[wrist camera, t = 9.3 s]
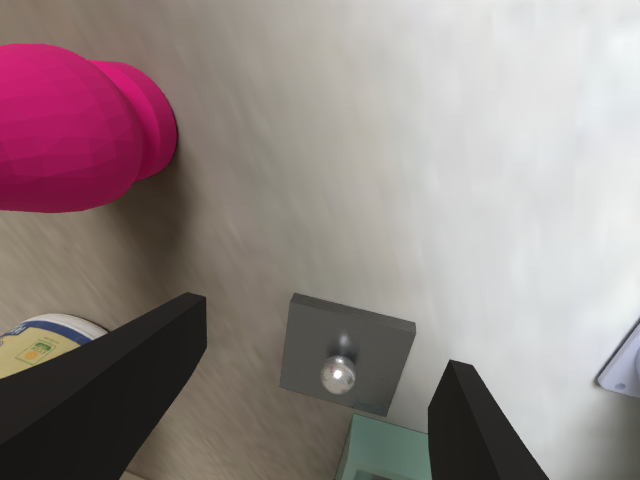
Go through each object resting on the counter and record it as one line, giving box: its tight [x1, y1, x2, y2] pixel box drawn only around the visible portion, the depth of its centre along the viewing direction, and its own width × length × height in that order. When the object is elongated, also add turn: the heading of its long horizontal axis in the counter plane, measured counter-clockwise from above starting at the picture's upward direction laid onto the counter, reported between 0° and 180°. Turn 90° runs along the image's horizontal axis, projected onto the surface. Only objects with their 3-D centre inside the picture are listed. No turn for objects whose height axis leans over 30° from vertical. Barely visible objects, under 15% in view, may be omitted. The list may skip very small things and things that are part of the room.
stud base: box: [279, 293, 416, 417], centre depth 22 cm, size 8×8×3 cm
